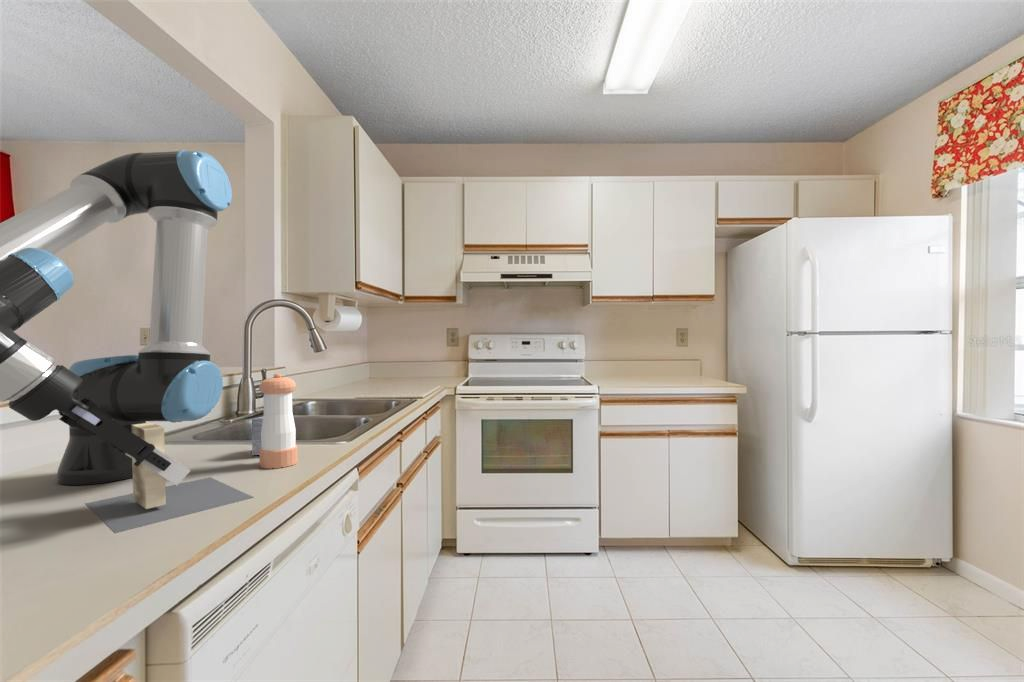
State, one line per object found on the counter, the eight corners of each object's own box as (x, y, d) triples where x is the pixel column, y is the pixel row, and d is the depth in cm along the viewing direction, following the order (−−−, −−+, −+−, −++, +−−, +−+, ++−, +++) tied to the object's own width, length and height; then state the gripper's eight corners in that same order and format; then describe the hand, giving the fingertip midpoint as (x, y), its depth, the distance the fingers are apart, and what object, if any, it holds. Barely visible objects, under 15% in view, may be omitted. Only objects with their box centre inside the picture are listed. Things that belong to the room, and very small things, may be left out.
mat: (85, 505, 77) (85, 503, 77) (210, 478, 91) (210, 477, 91) (115, 535, 65) (115, 532, 65) (253, 499, 79) (253, 497, 79)
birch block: (133, 499, 77) (131, 424, 76) (152, 495, 79) (150, 422, 78) (146, 509, 72) (144, 429, 72) (165, 504, 74) (164, 427, 74)
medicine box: (268, 457, 107) (268, 418, 107) (251, 456, 108) (250, 418, 108) (291, 448, 115) (291, 413, 115) (275, 448, 116) (274, 412, 116)
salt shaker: (288, 457, 106) (286, 371, 106) (304, 463, 102) (302, 373, 101) (253, 465, 101) (252, 374, 100) (269, 470, 96) (267, 375, 96)
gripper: (-4, 398, 69) (138, 482, 82) (13, 411, 57) (176, 507, 70) (46, 360, 73) (173, 445, 86) (72, 364, 61) (216, 463, 74)
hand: (174, 473), depth 78 cm, fingers closed on birch block, 7 cm apart
